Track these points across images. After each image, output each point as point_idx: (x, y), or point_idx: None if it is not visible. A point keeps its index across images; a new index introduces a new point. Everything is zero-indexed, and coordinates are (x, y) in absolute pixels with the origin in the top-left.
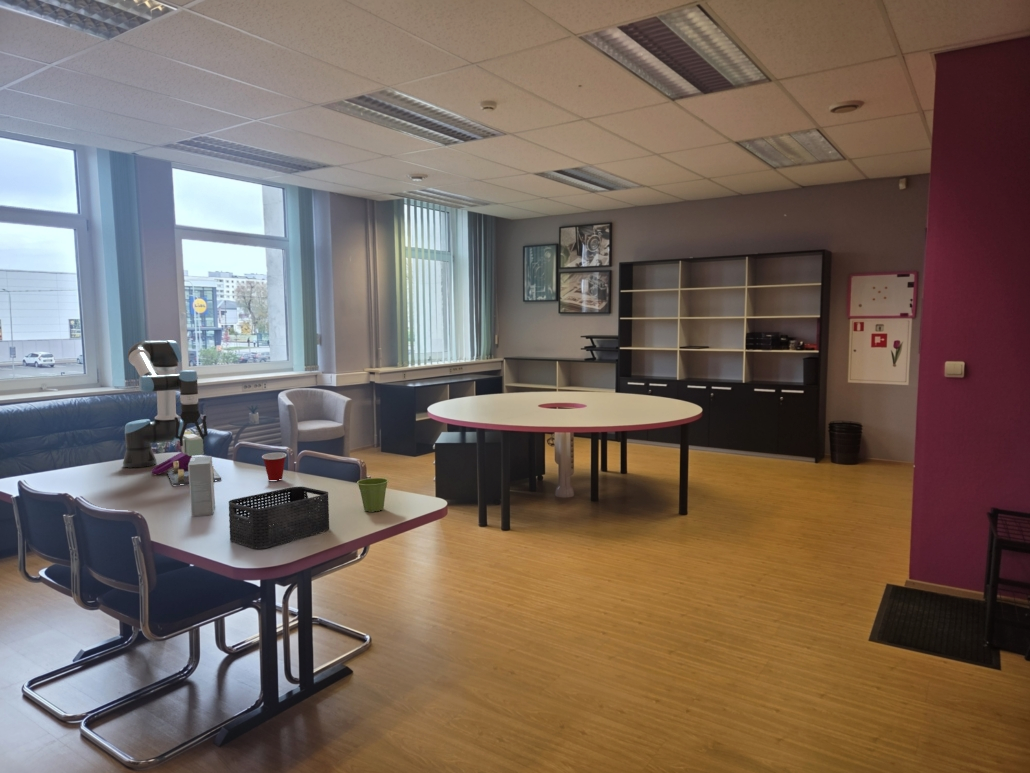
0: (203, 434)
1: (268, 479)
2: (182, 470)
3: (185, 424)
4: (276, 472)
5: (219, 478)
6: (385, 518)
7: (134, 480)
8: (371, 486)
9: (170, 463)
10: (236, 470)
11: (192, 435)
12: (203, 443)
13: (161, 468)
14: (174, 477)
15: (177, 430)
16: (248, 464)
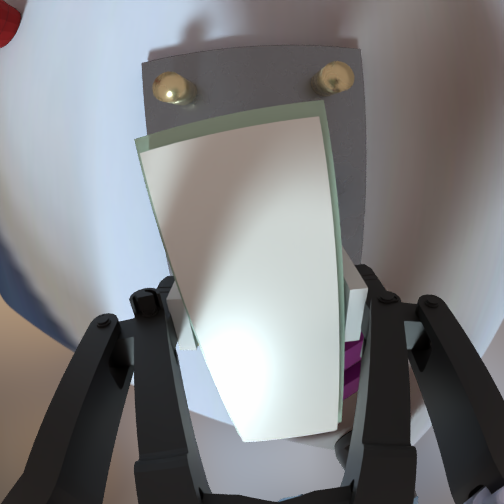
0: (132, 334)
1: (18, 20)
2: (329, 63)
3: (393, 453)
4: None
5: (150, 62)
6: None
7: (450, 269)
8: None
9: (345, 351)
10: (96, 262)
11: (256, 377)
12: (165, 279)
13: None
14: (348, 177)
15: (462, 359)
16: (81, 339)
